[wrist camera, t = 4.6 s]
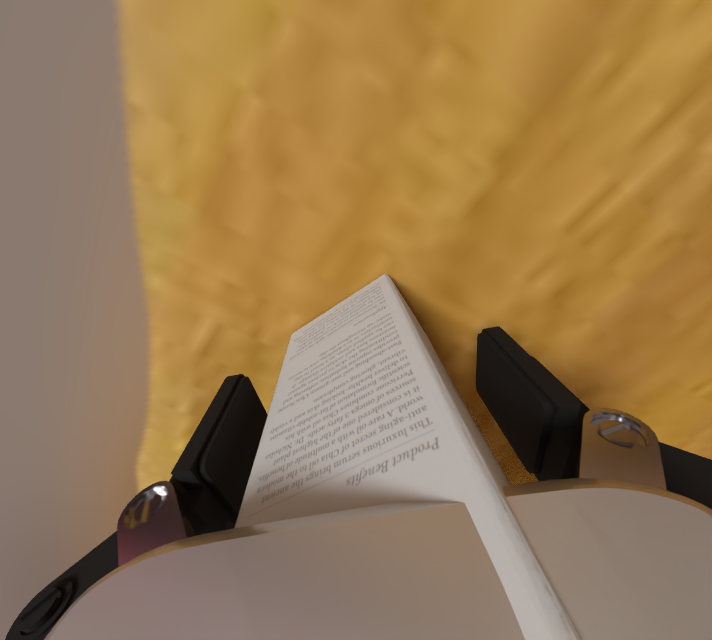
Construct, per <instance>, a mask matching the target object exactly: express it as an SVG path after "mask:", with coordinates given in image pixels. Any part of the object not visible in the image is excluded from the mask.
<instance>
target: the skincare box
mask: <svg viewBox="0 0 712 640" xmlns="http://www.w3.org/2000/svg"><path fill="white" fill-rule="evenodd" d="M509 485H510V483H509V482H508V480H507V478H506V476H505V475H504V473H503V471H502V469H501V467H500V466H499V464H498V462H497V460H496V459H495V457H494V455H493V453H492V452H491V450H490V448H489V446H488V444H487V443H486V441H485V439H484V437H483V435H482V434H481V432H480V430H479V429H478V427H477V425H476V423H475V422H474V420H473V418H472V416H471V414H470V413H469V411H468V409H467V407H466V405H465V404H464V402H463V400H462V398H461V397H460V395H459V393H458V391H457V389H456V388H455V386H454V384H453V382H452V380H451V379H450V377H449V375H448V373H447V371H446V370H445V368H444V366H443V364H442V362H441V361H440V359H439V357H438V355H437V354H436V352H435V350H434V348H433V346H432V344H431V343H430V341H429V339H428V337H427V335H426V334H425V332H424V331H423V329H422V327H421V326H420V324H419V322H418V321H417V319H416V317H415V316H414V314H413V313H412V311H411V309H410V308H409V306H408V305H407V303H406V302H405V300H404V298H403V297H402V295H401V294H400V292H399V290H398V289H397V287H396V286H395V284H394V282H393V281H392V279H391V278H390V277H389V275H387V274H383V275H382V276H380V277H379V278H378V279H376V280H375V281H373V282H371V283H370V284H368V285H367V286H365V287H364V288H362V289H361V290H359V291H357V292H356V293H354V294H353V295H351V296H350V297H348V298H347V299H345V300H344V301H342V302H340V303H339V304H337V305H336V306H334V307H333V308H331V309H330V310H328V311H327V312H325V313H324V314H322V315H320V316H319V317H317V318H316V319H314V320H313V321H311V322H310V323H308V324H307V325H305V326H304V327H302V328H300V329H299V330H297V331H296V332H294V333H293V334H292V335H291V338H290V342H289V345H288V348H287V352H286V355H285V358H284V362H283V365H282V368H281V372H280V375H279V379H278V382H277V386H276V389H275V393H274V396H273V399H272V403H271V406H270V410H269V413H268V416H267V420H266V423H265V426H264V430H263V433H262V436H261V440H260V443H259V447H258V450H257V454H256V457H255V460H254V463H253V467H252V470H251V474H250V477H249V480H248V484H247V487H246V491H245V494H244V498H243V501H242V505H241V508H240V511H239V515H238V518H237V521H236V524H235V528H240V527H245V526H251V525H257V524H263V523H269V522H275V521H281V520H288V519H294V518H300V517H306V516H312V515H319V514H325V513H331V512H337V511H344V510H350V509H357V508H363V507H369V506H376V505H382V504H389V503H395V502H459V503H465V504H466V507H467V509H468V511H469V513H470V515H471V518H472V520H473V522H474V524H475V526H476V528H477V531H478V533H479V535H480V537H481V539H482V541H483V544H484V546H485V548H486V550H487V552H488V554H489V556H490V558H491V561H492V563H493V565H494V567H495V569H496V571H497V573H498V576H499V578H500V580H501V582H502V584H503V587H504V589H505V592H506V594H507V596H508V599H509V601H510V603H511V606H512V608H513V610H514V613H515V615H516V618H517V620H518V623H519V625H520V628H521V630H522V633H523V635H524V638H525V640H582V638H581V637H580V635H579V633H578V631H577V629H576V627H575V626H574V624H573V622H572V620H571V618H570V616H569V614H568V613H567V611H566V609H565V607H564V605H563V603H562V602H561V600H560V598H559V596H558V594H557V592H556V590H555V589H554V587H553V585H552V583H551V581H550V579H549V577H548V576H547V574H546V572H545V570H544V568H543V566H542V564H541V563H540V561H539V559H538V557H537V555H536V553H535V551H534V550H533V548H532V546H531V544H530V542H529V540H528V538H527V537H526V535H525V533H524V531H523V529H522V527H521V525H520V524H519V522H518V520H517V518H516V516H515V514H514V512H513V511H512V509H511V507H510V505H509V503H508V501H507V499H506V498H505V495H504V492H503V488H502V486H509Z"/></svg>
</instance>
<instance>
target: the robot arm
mask: <svg viewBox="0 0 712 640" xmlns="http://www.w3.org/2000/svg"><path fill="white" fill-rule="evenodd" d="M476 389H477V392H478V394H479V395H480V397H481V399H482V400H483V402H484V403H485V405H486V406H487V408H488V410H489V411H490V413H491V414H492V416H493V418H494V419H495V421H496V422H497V424H498V426H499V427H500V429H501V430H502V432H503V433H504V435H505V437H506V438H507V440H508V441H509V443H510V445H511V446H512V448H513V449H514V451H515V453H516V454H517V456H518V457H519V459H520V460H521V462H522V464H523V465H524V467H525V468H526V470H527V471H528V472H529V473H534V474H535V476H536V477H537V479H538V480H539V482H532V483H524V484H517V485H509V486H502V488H503V492H504V495H505V498H506V499H507V501H508V503H509V505H510V507H511V509H512V511H513V512H514V514H515V516H516V518H517V520H518V522H519V524H520V525H521V527H522V529H523V531H524V533H525V535H526V537H527V538H528V540H529V542H530V544H531V546H532V548H533V550H534V551H535V553H536V555H537V557H538V559H539V561H540V563H541V564H542V566H543V568H544V570H545V572H546V574H547V576H548V577H549V579H550V581H551V583H552V585H553V587H554V589H555V590H556V592H557V594H558V596H559V598H560V600H561V602H562V603H563V605H564V607H565V609H566V611H567V613H568V614H569V616H570V618H571V620H572V622H573V624H574V626H575V627H576V629H577V631H578V633H579V635H580V637H581V638H582V640H712V460H710V459H707V458H704V457H701V456H698V455H696V454H693V453H690V452H687V451H684V450H681V449H678V448H675V447H672V446H669V445H666V444H663V443H660V442H658V439H657V437H656V435H655V433H654V432H653V431H652V430H651V429H650V427H649V426H647V425H646V424H645V423H643V422H642V421H641V420H639V419H637V418H635V417H634V416H632V415H630V414H627V413H624V412H621V411H619V410H614V409H609V408H596V409H592V410H590V409H589V408H588V407H586V406H585V405H584V404H583V403H582V402H581V401H580V400H579V399H578V398H577V397H576V396H575V395H574V394H573V393H572V392H571V391H569V390H568V389H567V388H566V387H565V386H564V385H563V384H562V383H561V382H560V381H559V380H558V379H557V378H556V377H555V376H553V375H552V374H551V373H550V372H549V371H548V370H547V369H546V368H545V367H544V366H543V365H542V364H541V363H540V362H539V361H537V360H536V359H535V358H534V357H532V356H530V355H529V354H528V353H527V352H526V351H525V350H524V349H523V348H522V347H521V346H519V345H518V344H517V343H516V342H515V341H514V340H513V339H512V338H511V337H510V336H509V335H508V334H507V333H506V332H505V331H504V330H503V329H502V328H500V327H498V326H497V327H492V328H486V329H483V330H482V333H480V334H478V337H477V365H476ZM267 416H268V415H267V413H266V411H265V409H264V407H263V405H262V403H261V401H260V399H259V397H258V395H257V393H256V391H255V389H254V387H253V385H252V383H251V381H250V379H249V378H248V377H245V376H244V375H243V374H239V375H233V376H228V377H226V379H225V380H224V382H223V384H222V385H221V387H220V389H219V391H218V392H217V394H216V396H215V398H214V399H213V401H212V403H211V404H210V406H209V408H208V410H207V411H206V413H205V415H204V417H203V418H202V420H201V422H200V424H199V425H198V427H197V429H196V430H195V432H194V434H193V436H192V437H191V439H190V441H189V443H188V444H187V446H186V448H185V450H184V451H183V453H182V455H181V456H180V458H179V460H178V462H177V463H176V465H175V467H174V469H173V470H172V472H171V474H172V475H173V476H172V477H171V479H170V481H169V482H168V481H160V482H157V483H154V484H152V485H150V486H148V487H147V488H145V489H143V490H142V491H141V492H140V493H138V494H137V495H136V496H135V497H134V498H133V499H132V500H131V501H130V502H129V503H128V504H127V506H126V507H125V509H124V510H123V511H122V513H121V515H120V518H119V520H118V524H117V531H116V532H115V533H114V534H112V535H111V536H110V537H108V538H107V539H106V540H105V541H103V542H102V543H101V544H100V545H98V546H97V547H96V548H94V549H93V550H92V551H91V552H89V553H88V554H87V555H86V556H85V557H83V558H82V559H81V560H79V561H78V562H77V563H75V564H74V565H73V566H72V567H70V568H69V569H68V570H66V571H65V572H64V573H63V574H62V575H60V576H59V577H58V578H57V579H55V580H54V581H53V582H51V583H50V584H49V585H48V586H46V587H45V588H44V589H43V590H42V591H41V592H39V593H38V594H37V595H36V596H35V597H34V598H33V599H32V600H31V601H30V603H28V605H27V606H26V607H25V608H24V609H23V610H22V612H21V613H20V614H19V616H18V617H17V619H16V620H15V621H14V623H13V625H12V626H11V628H10V630H9V632H8V634H7V636H6V639H5V640H525V638H524V635H523V633H522V630H521V628H520V625H519V623H518V620H517V618H516V615H515V613H514V610H513V608H512V606H511V603H510V601H509V599H508V596H507V594H506V592H505V589H504V587H503V584H502V582H501V580H500V578H499V576H498V573H497V571H496V569H495V567H494V565H493V563H492V561H491V558H490V556H489V554H488V552H487V550H486V548H485V546H484V544H483V541H482V539H481V537H480V535H479V533H478V531H477V528H476V526H475V524H474V522H473V520H472V518H471V515H470V513H469V511H468V509H467V507H466V504H465V503H459V502H395V503H389V504H382V505H376V506H369V507H363V508H357V509H350V510H344V511H337V512H331V513H325V514H319V515H312V516H306V517H300V518H294V519H288V520H281V521H275V522H269V523H263V524H257V525H251V526H245V527H240V528H235V524H236V521H237V518H238V515H239V511H240V508H241V505H242V501H243V498H244V494H245V491H246V487H247V484H248V480H249V477H250V474H251V470H252V467H253V463H254V460H255V457H256V454H257V450H258V447H259V443H260V440H261V436H262V433H263V430H264V426H265V423H266V420H267Z"/></svg>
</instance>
